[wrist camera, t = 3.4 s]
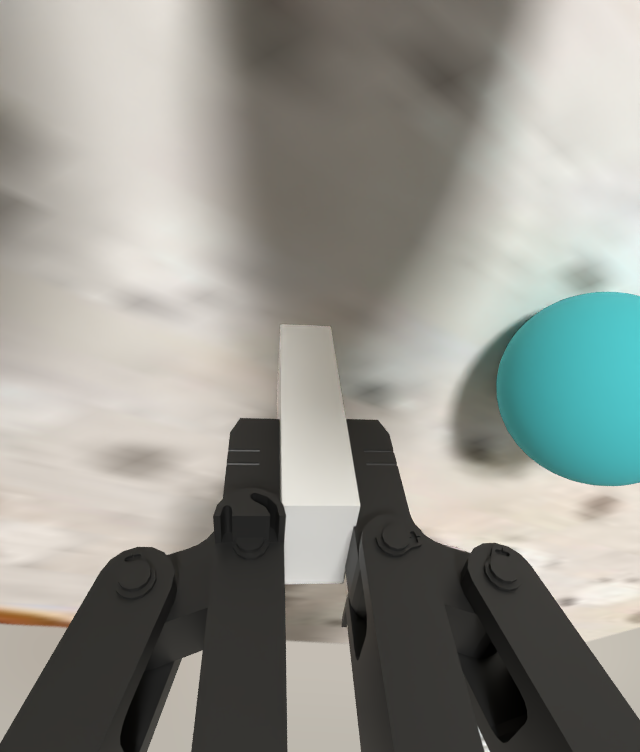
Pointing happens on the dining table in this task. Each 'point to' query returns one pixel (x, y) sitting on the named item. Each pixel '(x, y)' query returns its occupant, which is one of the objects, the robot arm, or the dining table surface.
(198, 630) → the robot arm
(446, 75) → the dining table surface
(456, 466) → the dining table surface
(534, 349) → the ball
